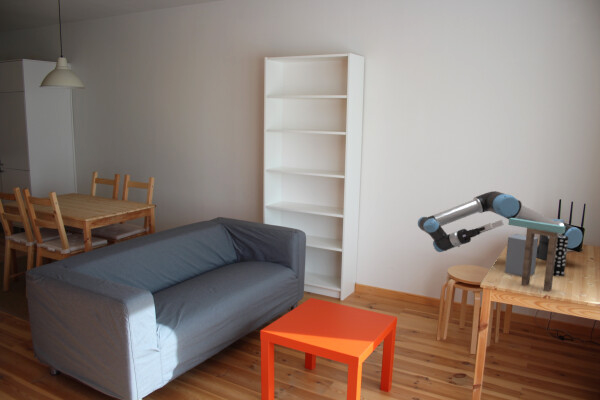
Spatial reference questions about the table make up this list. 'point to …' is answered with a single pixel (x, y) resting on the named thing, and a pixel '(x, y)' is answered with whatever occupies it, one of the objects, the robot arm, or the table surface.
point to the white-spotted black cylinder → (560, 255)
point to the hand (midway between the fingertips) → (497, 223)
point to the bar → (537, 225)
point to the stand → (550, 257)
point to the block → (518, 254)
